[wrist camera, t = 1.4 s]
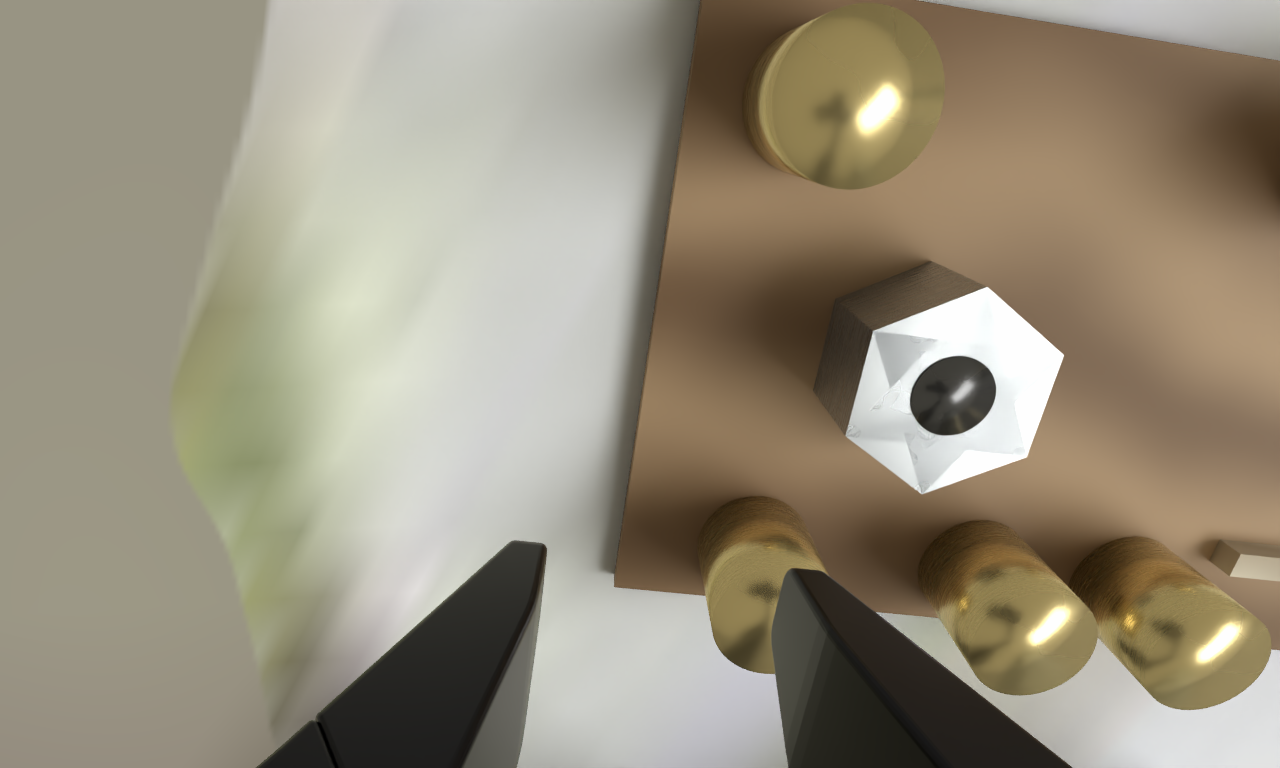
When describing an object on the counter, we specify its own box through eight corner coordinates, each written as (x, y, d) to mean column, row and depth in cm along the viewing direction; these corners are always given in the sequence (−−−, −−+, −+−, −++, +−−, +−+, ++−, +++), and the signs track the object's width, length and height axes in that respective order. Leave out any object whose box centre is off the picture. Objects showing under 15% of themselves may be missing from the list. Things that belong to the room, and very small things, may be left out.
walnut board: (1305, 641, 24) (1344, 671, 23) (614, 575, 23) (614, 603, 21) (1608, 120, 19) (1683, 121, 17) (704, -30, 17) (712, -42, 15)
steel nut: (956, 451, 21) (1010, 504, 18) (802, 433, 20) (832, 485, 17) (1014, 272, 19) (1085, 300, 16) (846, 249, 18) (889, 273, 16)
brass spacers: (1179, 633, 23) (1270, 717, 20) (657, 583, 22) (664, 664, 19) (1444, 102, 18) (1632, 99, 14) (761, -11, 16) (798, -42, 13)
